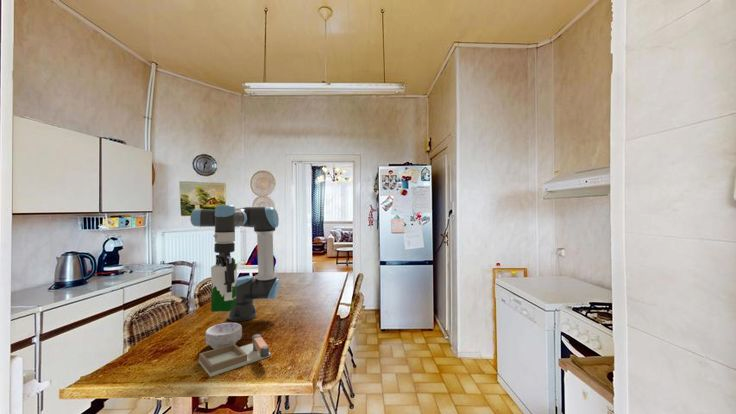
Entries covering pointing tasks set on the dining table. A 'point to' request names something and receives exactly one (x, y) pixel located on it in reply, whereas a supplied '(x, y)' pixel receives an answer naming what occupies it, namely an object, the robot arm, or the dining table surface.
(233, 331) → the paper bowls
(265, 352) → the leg bar
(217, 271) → the soya milk
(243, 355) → the seat board
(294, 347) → the dining table surface
